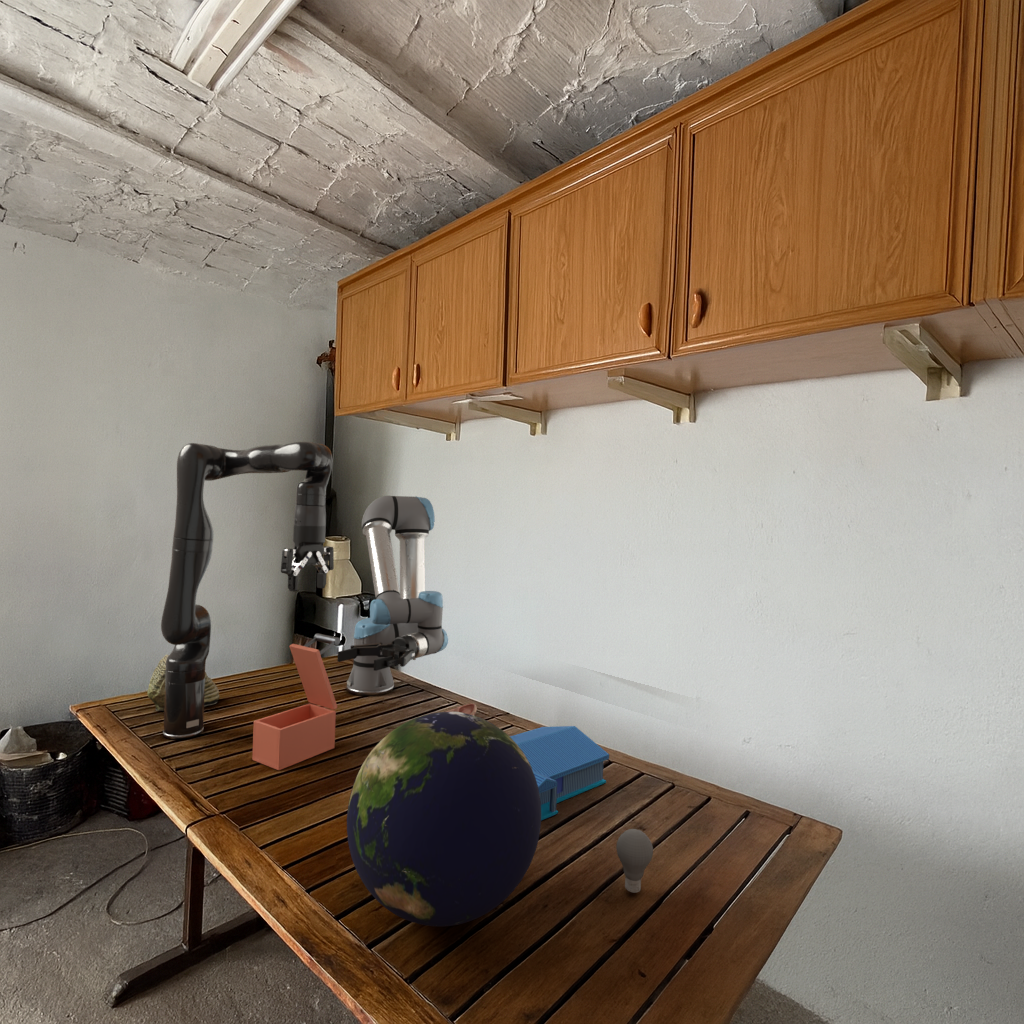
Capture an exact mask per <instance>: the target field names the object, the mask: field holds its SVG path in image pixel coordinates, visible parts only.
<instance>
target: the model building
mask: <svg viewBox="0 0 1024 1024" xmlns="http://www.w3.org/2000/svg"><path fill="white" fill-rule="evenodd" d="M509 737H511V739H512V740H513V741H514V742H515V743H516V744H517V745H518V746H519V748H520V749H521V750H522V751H523V753H524V755H525V756H526V758H527V760H528V761H529V763H530V765H531V767H532V770H533V773H534V775H535V778H536V782H537V785H538V789H539V794H540V801H541V822H542V821H543V820H546V819H549V818H551V817H553V816H555V815H558V814H559V810H557V804H559V803H561V802H563V801H566V800H568V799H570V798H573V797H575V796H577V795H580V794H583V793H585V792H587V791H590V790H591V789H594V788H597V787H599V786H601V785H604V784H606V783H607V780H606V779H604V761H607V760H609V759H610V754H609V753H608V752H607V751H606V750H605V749H603V747H601V746H600V745H598V744H597V743H596V742H595V741H594V740H592V738H590V736H588V735H587V734H586V733H584V732H583V731H582V730H581V729H580V728H578V727H577V726H576V725H559V726H558V725H557V726H541V727H538V728H533V729H530V730H526V731H524V732H520V733H517V734H514V735H509Z"/></svg>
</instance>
